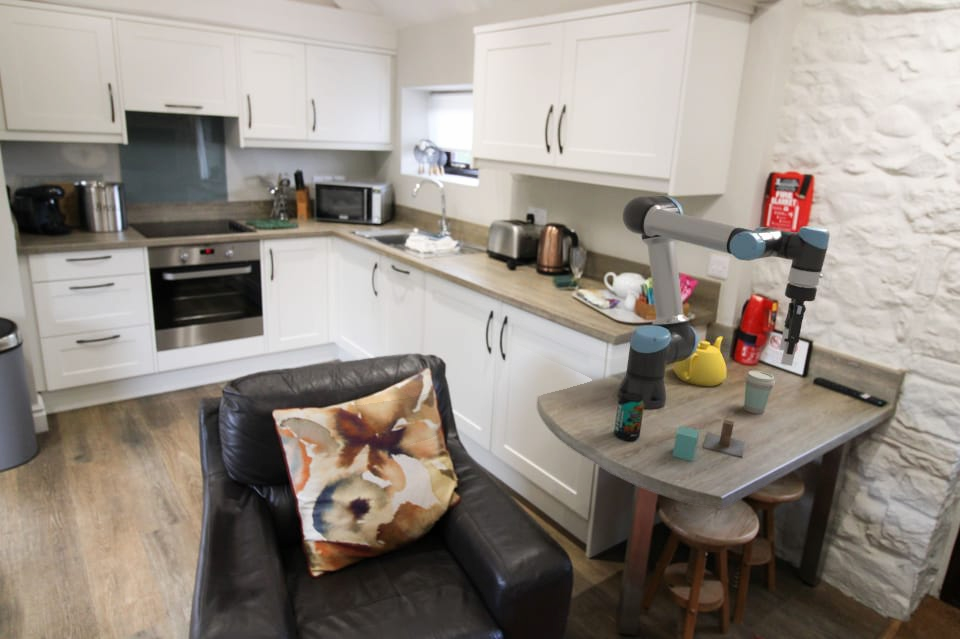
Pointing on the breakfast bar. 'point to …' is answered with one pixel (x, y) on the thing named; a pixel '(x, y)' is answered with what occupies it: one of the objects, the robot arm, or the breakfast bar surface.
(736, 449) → the grey square base stand
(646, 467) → the breakfast bar surface
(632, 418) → the beverage can
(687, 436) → the teal rectangular block
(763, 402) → the coffee cup
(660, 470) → the breakfast bar surface
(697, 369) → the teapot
